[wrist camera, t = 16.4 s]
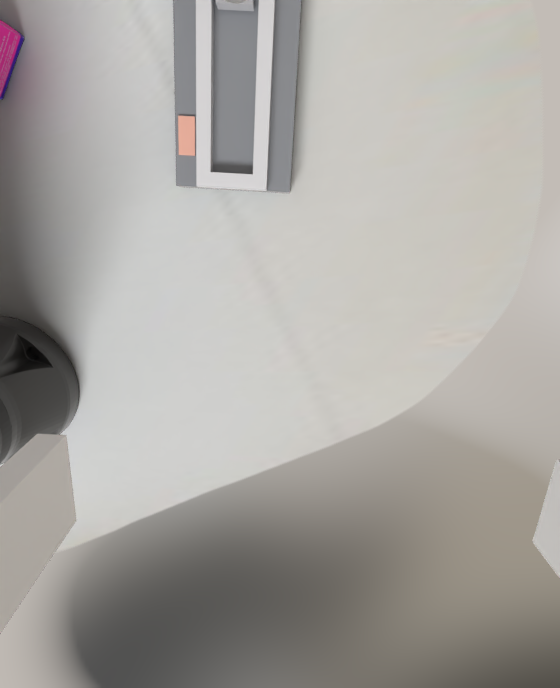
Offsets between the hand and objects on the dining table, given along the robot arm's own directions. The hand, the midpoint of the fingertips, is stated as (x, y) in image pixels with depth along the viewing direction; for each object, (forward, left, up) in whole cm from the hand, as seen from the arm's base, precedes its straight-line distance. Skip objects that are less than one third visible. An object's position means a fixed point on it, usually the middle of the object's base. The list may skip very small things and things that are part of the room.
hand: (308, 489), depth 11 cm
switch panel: (-6, +19, -31) cm, 37 cm away
